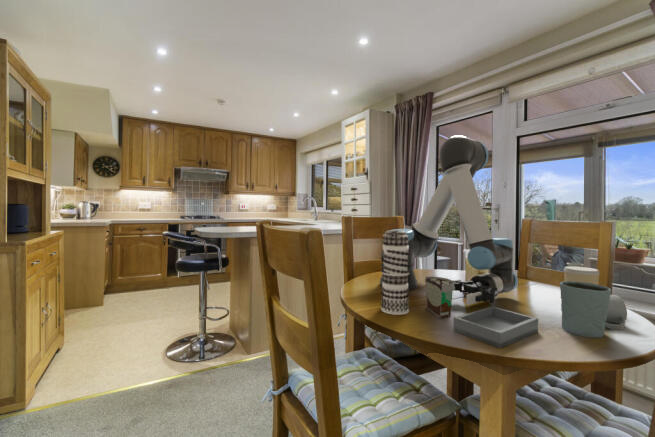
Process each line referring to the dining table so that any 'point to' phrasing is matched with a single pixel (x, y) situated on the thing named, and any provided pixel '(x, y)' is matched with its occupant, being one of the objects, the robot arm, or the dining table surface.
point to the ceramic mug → (616, 313)
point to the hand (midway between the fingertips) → (446, 294)
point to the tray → (496, 326)
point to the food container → (439, 295)
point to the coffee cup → (581, 274)
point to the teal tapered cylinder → (584, 308)
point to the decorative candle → (395, 272)
